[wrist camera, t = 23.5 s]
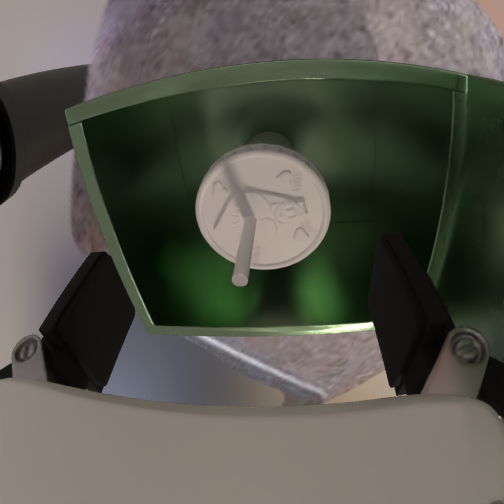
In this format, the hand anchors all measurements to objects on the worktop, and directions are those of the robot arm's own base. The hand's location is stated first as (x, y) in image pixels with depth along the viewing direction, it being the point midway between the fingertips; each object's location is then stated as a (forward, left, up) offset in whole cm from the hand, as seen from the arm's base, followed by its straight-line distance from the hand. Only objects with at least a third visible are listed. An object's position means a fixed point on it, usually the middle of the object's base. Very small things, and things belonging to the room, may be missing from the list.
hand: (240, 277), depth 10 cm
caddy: (+1, 0, -15) cm, 15 cm away
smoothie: (0, 0, -14) cm, 14 cm away
